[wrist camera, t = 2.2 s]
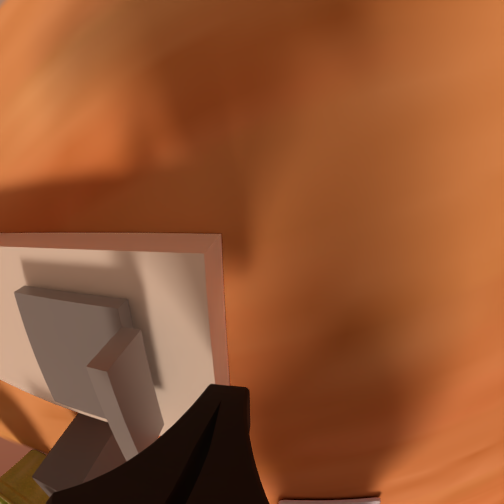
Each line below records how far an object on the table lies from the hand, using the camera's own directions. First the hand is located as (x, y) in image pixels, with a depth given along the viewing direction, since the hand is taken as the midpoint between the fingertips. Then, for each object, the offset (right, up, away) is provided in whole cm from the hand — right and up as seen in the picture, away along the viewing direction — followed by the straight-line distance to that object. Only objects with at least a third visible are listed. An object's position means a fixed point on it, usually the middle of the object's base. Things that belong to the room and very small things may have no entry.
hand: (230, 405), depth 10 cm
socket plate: (-9, +2, +5) cm, 11 cm away
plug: (-10, -8, +9) cm, 16 cm away
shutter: (-6, +1, +2) cm, 7 cm away
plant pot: (-22, -19, +14) cm, 32 cm away
